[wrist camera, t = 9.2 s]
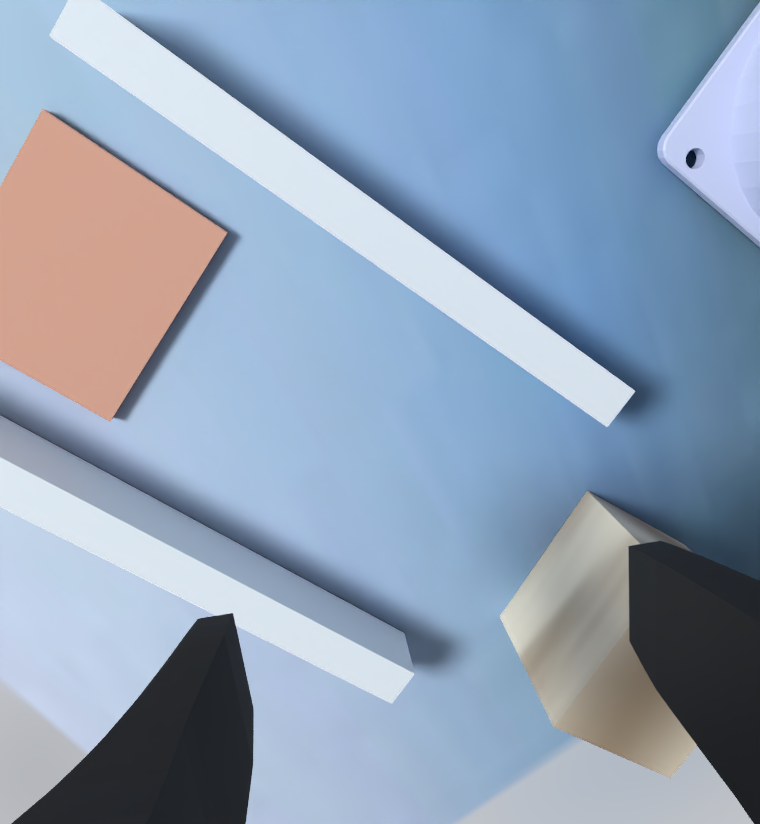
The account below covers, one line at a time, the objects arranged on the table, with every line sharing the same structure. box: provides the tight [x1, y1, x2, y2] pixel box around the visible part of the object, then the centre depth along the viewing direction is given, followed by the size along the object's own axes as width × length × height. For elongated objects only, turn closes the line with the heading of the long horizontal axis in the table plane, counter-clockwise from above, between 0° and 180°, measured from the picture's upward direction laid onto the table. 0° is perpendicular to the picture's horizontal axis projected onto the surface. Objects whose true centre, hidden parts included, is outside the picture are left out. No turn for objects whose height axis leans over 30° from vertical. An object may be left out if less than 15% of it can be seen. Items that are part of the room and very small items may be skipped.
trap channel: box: [0, 0, 635, 704], centre depth 18 cm, size 16×11×2 cm
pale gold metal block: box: [500, 491, 697, 778], centre depth 20 cm, size 4×5×5 cm
